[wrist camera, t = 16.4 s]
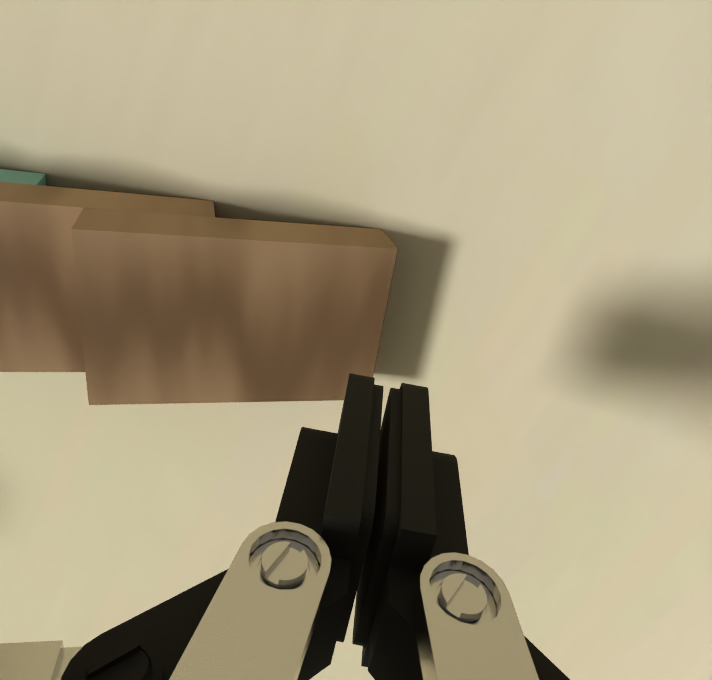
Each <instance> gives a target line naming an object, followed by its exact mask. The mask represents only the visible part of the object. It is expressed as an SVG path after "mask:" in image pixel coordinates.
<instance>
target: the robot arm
mask: <svg viewBox="0 0 712 680" xmlns="http://www.w3.org/2000/svg"><path fill="white" fill-rule="evenodd" d="M382 399H383V386H379V385H374V378H373V377H368V376H363V375H357V374H352V373H349V378H348V383H347V388H346V393H345V398H344V404H343V409H342V414H341V419H340V425H339V430H338V434H337V433H331V432H326V431H321V430H315V429H310V428H305V427H302V428H301V431H300V435H299V438H298V442H297V445H296V449H295V453H294V456H293V460H292V464H291V467H290V471H289V474H288V478H287V482H286V485H285V489H284V493H283V496H282V500H281V504H280V507H279V511H278V514H277V518H276V522H273V523H270V524H267V525H264V526H261V527H259V528H258V529H256V530H255V531H253V532H252V533H250V534H249V535H248V537H247V538H246V539H245V540H244V542H243V543H242V545H241V546H240V548H239V550H238V552H237V554H236V556H235V558H234V560H233V561H232V563H231V565H230V567H229V569H227V570H225V571H223V572H221V573H219V574H217V575H216V576H214V577H212V578H210V579H208V580H206V581H204V582H202V583H200V584H198V585H196V586H194V587H192V588H190V589H188V590H186V591H184V592H182V593H180V594H178V595H177V596H175V597H173V598H171V599H169V600H167V601H165V602H163V603H161V604H159V605H157V606H155V607H153V608H151V609H149V610H147V611H145V612H143V613H141V614H139V615H138V616H136V617H134V618H132V619H130V620H128V621H126V622H124V623H122V624H120V625H118V626H116V627H114V628H112V629H110V630H108V631H106V632H104V633H102V634H100V635H99V636H97V637H96V638H94V639H93V640H91V641H90V642H88V643H87V644H85V645H84V646H83V647H68V648H64V647H63V641H44V642H23V643H3V644H0V680H309V679H311V678H312V677H313V676H315V675H316V674H317V673H319V672H320V671H322V670H323V669H324V668H326V667H327V666H328V665H330V664H331V660H332V656H333V652H334V648H335V644H336V641H339V642H344V639H345V635H346V631H347V627H348V623H349V619H350V615H351V611H352V607H353V603H354V599H355V596H356V606H355V617H354V628H353V644H355V645H361V646H363V651H362V665H361V666H365V667H368V671H369V673H370V674H371V675H372V677H373V678H374V679H375V680H570V679H569V678H568V677H567V676H566V675H565V674H564V673H563V672H561V671H560V670H559V669H558V668H557V667H556V666H555V665H554V664H553V663H552V662H551V661H550V660H549V659H548V658H547V657H546V656H545V655H544V654H543V653H542V652H541V651H540V650H538V649H537V648H536V647H535V646H534V645H533V644H532V643H531V642H530V641H529V640H528V639H527V638H526V637H525V636H524V634H523V632H522V629H521V626H520V623H519V620H518V617H517V614H516V611H515V608H514V605H513V603H512V600H511V597H510V594H509V592H508V590H507V588H506V586H505V584H504V582H503V580H502V579H501V578H500V577H499V576H498V574H497V573H496V572H495V571H494V570H493V569H492V568H491V567H489V566H488V565H486V564H485V563H484V562H482V561H481V560H478V559H476V558H474V557H472V556H469V554H468V546H467V538H466V529H465V521H464V513H463V505H462V496H461V488H460V480H459V471H458V463H457V459H456V457H455V455H450V454H444V453H439V452H434V451H432V443H431V426H430V410H429V394H428V388H427V387H421V386H416V385H411V384H405V383H402V384H401V387H400V389H395V388H391V389H390V392H389V396H388V401H387V405H386V409H385V413H384V417H383V422H382V426H381V414H382ZM380 428H381V430H380ZM356 592H357V595H356Z"/></svg>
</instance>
